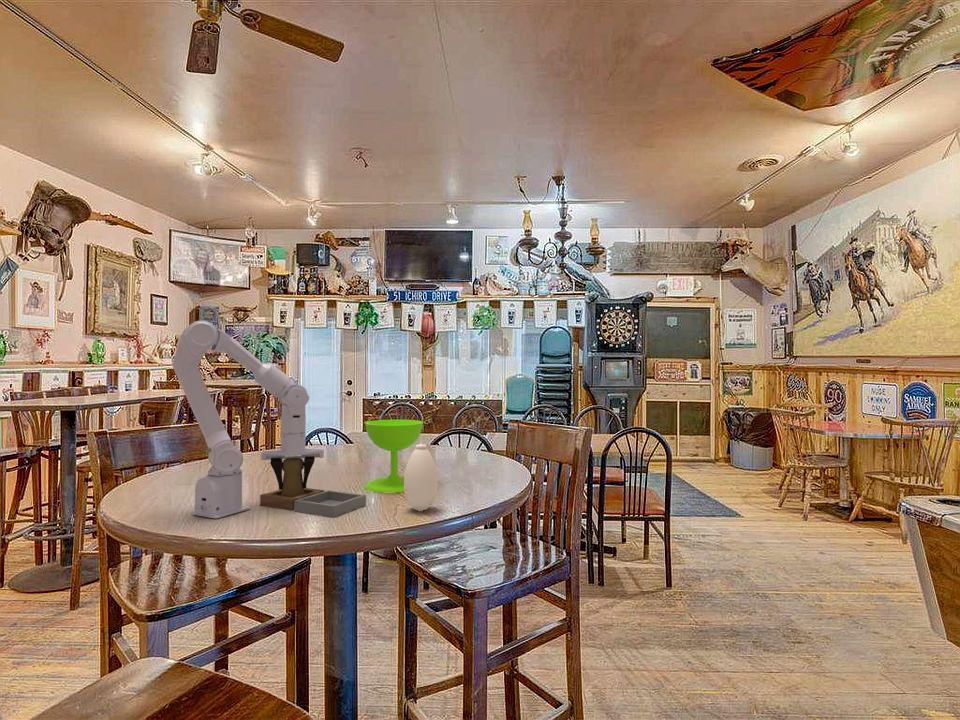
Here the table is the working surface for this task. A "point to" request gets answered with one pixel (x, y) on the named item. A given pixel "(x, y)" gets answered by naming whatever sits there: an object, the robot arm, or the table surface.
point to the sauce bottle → (421, 478)
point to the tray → (329, 503)
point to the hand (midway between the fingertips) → (292, 488)
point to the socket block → (284, 498)
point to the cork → (292, 477)
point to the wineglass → (392, 448)
